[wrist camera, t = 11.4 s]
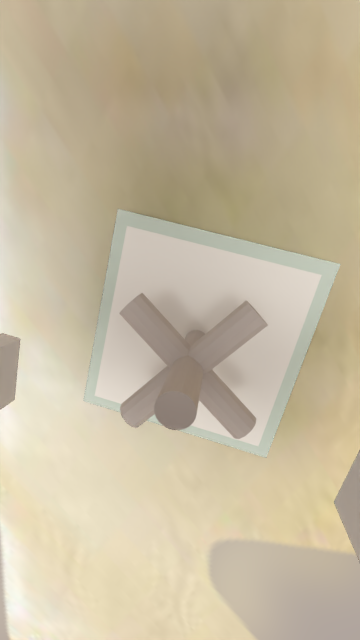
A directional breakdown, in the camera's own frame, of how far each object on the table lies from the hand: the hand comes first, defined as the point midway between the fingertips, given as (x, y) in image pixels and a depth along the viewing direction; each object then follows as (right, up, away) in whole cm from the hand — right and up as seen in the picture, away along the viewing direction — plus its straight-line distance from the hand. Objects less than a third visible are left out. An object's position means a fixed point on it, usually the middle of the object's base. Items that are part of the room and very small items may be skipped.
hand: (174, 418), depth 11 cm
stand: (+2, +3, +14) cm, 15 cm away
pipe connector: (+1, +2, +11) cm, 11 cm away
